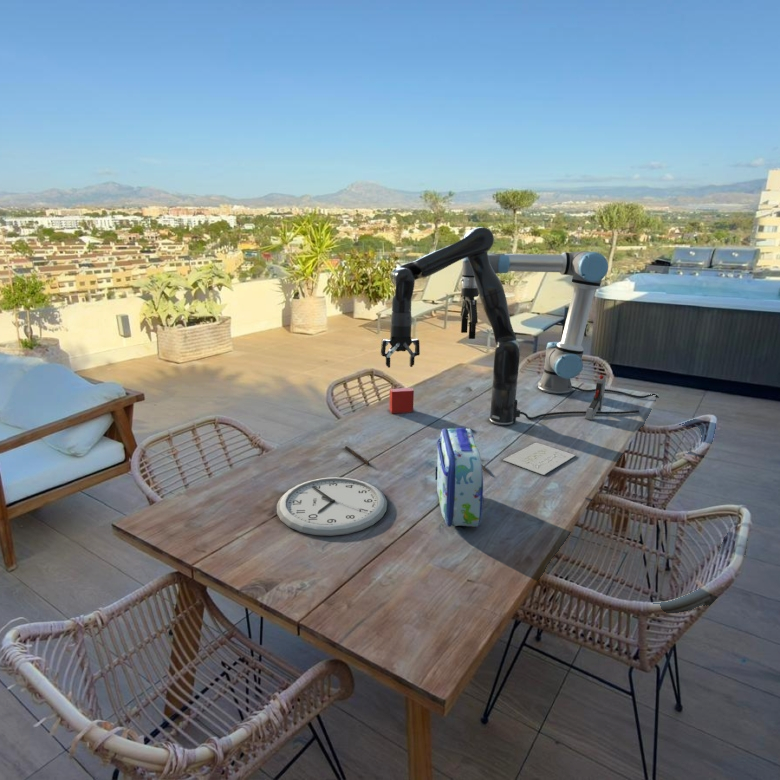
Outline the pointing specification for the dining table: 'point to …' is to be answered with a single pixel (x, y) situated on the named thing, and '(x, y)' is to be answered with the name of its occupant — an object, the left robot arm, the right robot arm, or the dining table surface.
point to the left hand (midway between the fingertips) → (399, 366)
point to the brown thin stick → (357, 455)
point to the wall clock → (331, 506)
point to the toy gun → (597, 398)
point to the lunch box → (459, 478)
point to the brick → (401, 400)
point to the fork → (484, 469)
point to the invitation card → (539, 458)
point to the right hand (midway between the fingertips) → (467, 335)
